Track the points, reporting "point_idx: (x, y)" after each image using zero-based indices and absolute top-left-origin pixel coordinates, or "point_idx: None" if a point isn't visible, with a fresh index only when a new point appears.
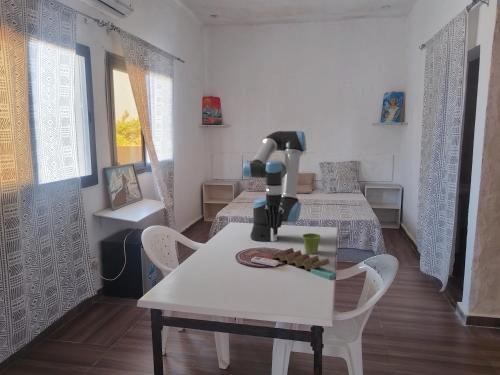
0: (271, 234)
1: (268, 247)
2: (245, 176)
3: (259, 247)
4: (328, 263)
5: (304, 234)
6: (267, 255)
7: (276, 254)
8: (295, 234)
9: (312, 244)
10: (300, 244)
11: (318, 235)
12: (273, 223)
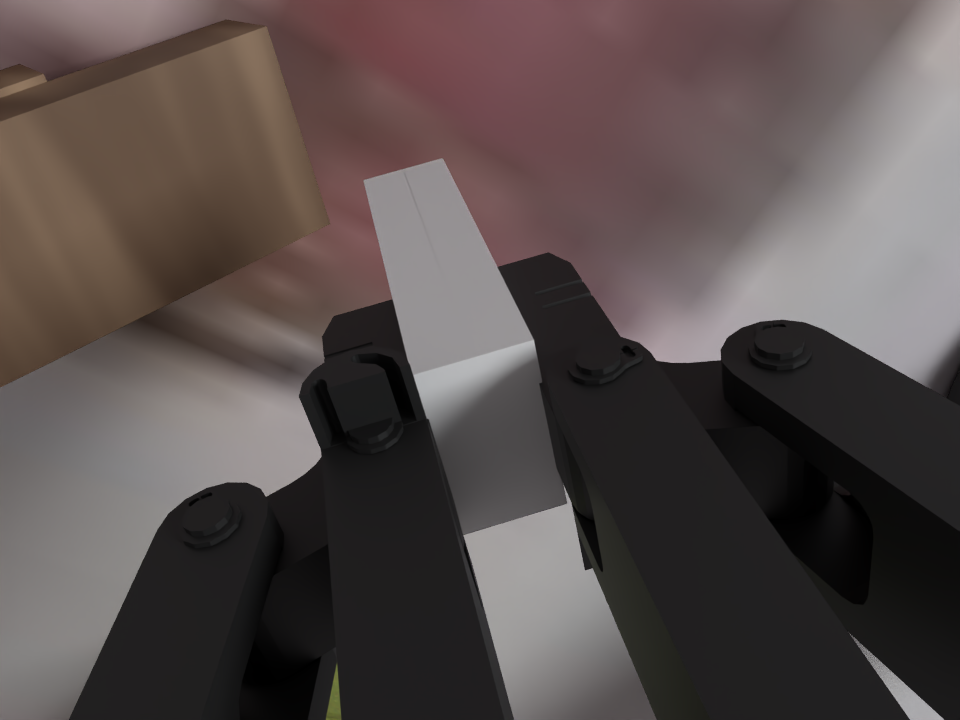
0: (446, 240)
1: (775, 246)
2: None
3: (874, 117)
4: None
5: None
6: (463, 25)
7: (128, 70)
8: (889, 689)
9: None
10: (599, 627)
11: None
12: (425, 551)
